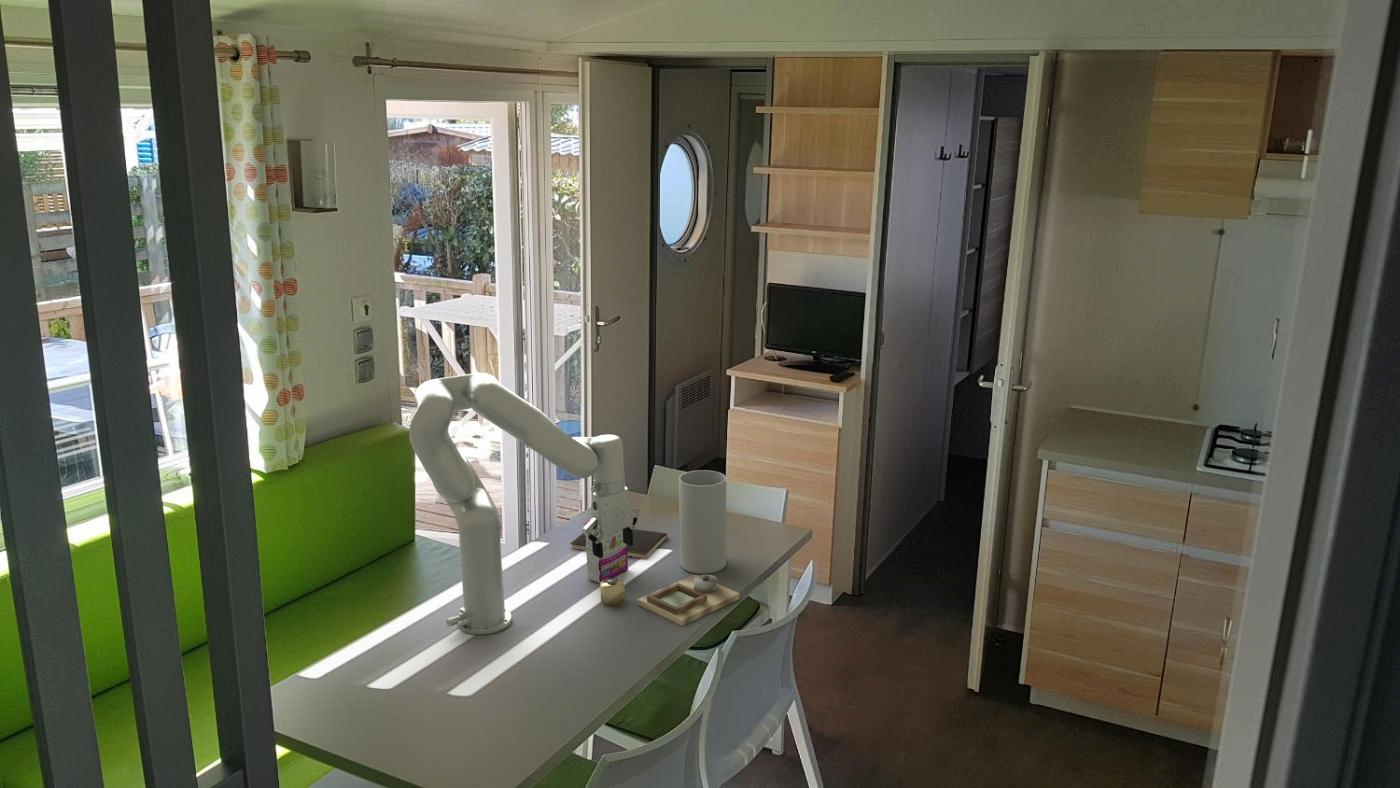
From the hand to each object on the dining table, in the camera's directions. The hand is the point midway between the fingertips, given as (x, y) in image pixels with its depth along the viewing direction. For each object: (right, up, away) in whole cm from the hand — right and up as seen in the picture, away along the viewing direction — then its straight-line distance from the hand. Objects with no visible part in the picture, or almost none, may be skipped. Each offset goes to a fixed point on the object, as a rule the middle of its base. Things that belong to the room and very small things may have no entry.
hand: (613, 550), depth 256 cm
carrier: (+19, -13, +2) cm, 23 cm away
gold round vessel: (0, -13, +3) cm, 14 cm away
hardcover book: (-1, -5, +39) cm, 39 cm away
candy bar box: (-3, -10, +18) cm, 21 cm away
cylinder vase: (+22, -8, +24) cm, 33 cm away
